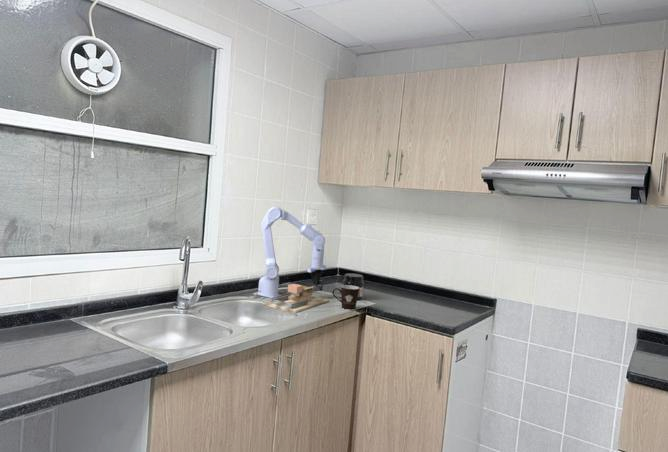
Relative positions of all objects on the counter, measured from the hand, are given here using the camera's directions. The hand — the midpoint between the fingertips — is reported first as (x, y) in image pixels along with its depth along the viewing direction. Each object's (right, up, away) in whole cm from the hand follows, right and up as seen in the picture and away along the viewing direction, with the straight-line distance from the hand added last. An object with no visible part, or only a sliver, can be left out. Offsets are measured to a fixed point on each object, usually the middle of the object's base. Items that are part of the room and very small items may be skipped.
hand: (315, 285), depth 232 cm
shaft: (-4, -3, -6) cm, 7 cm away
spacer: (-9, -1, -15) cm, 18 cm away
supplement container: (+18, -8, +8) cm, 21 cm away
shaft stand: (-8, -7, -12) cm, 16 cm away
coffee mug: (+15, -9, -13) cm, 22 cm away
